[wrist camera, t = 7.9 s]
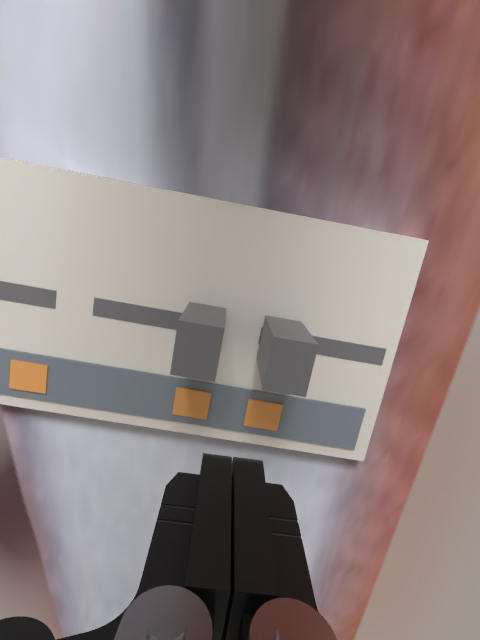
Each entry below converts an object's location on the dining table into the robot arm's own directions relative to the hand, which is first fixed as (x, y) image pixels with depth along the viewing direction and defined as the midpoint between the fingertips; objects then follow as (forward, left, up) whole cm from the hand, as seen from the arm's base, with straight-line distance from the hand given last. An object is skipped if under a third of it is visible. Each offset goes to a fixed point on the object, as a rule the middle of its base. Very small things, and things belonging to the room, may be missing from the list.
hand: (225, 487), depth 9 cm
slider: (0, +3, -15) cm, 16 cm away
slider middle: (0, -2, -15) cm, 15 cm away
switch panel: (0, -5, -17) cm, 18 cm away
